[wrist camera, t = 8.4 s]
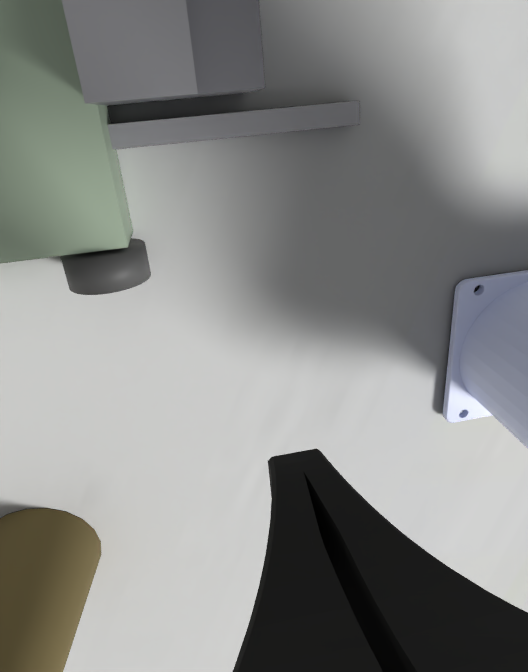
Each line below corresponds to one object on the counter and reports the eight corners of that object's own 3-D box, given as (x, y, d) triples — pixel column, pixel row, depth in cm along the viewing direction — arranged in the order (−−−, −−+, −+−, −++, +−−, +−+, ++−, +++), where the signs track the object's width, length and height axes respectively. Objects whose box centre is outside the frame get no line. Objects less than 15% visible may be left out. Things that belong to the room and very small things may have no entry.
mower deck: (349, -364, 13) (465, -675, 8) (350, 237, 20) (411, 279, 15) (-477, -385, 11) (-1081, -847, 6) (-138, 301, 18) (-261, 376, 13)
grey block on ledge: (230, -83, 15) (252, -157, 11) (246, 93, 17) (269, 87, 13) (69, -75, 15) (27, -151, 10) (106, 105, 17) (85, 103, 13)
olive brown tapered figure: (-20, 503, 23) (-164, 795, 13) (109, 512, 25) (66, 778, 15) (-25, 589, 25) (-151, 893, 15) (93, 592, 27) (48, 869, 17)
